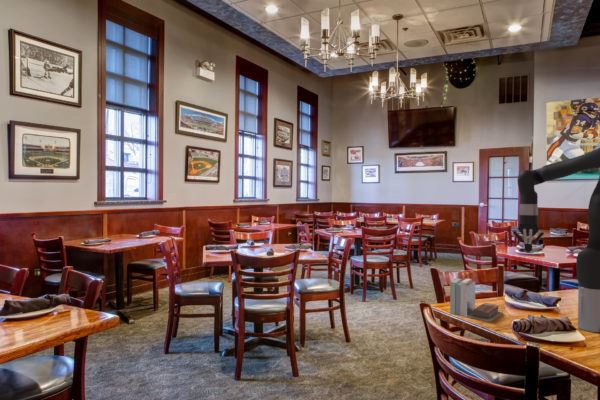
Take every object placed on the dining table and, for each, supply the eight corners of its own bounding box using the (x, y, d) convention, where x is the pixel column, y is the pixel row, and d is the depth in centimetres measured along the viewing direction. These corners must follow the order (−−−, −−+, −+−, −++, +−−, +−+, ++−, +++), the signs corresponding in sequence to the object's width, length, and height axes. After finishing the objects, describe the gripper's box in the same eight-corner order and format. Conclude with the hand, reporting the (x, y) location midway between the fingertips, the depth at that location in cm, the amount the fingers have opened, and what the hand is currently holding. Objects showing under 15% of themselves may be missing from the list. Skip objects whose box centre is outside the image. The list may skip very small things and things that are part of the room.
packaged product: (480, 300, 197) (503, 304, 191) (480, 311, 197) (502, 315, 191) (466, 308, 184) (490, 312, 177) (466, 319, 184) (490, 323, 177)
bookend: (475, 311, 195) (475, 281, 195) (467, 318, 184) (467, 286, 184) (458, 308, 200) (458, 279, 200) (449, 315, 189) (450, 284, 188)
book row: (471, 310, 194) (471, 279, 194) (465, 315, 186) (465, 282, 186) (456, 308, 198) (456, 277, 198) (450, 313, 190) (450, 280, 190)
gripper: (546, 214, 187) (545, 252, 187) (513, 213, 195) (513, 250, 195) (544, 214, 181) (543, 254, 181) (510, 213, 189) (510, 251, 189)
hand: (528, 252), depth 188 cm, fingers closed
